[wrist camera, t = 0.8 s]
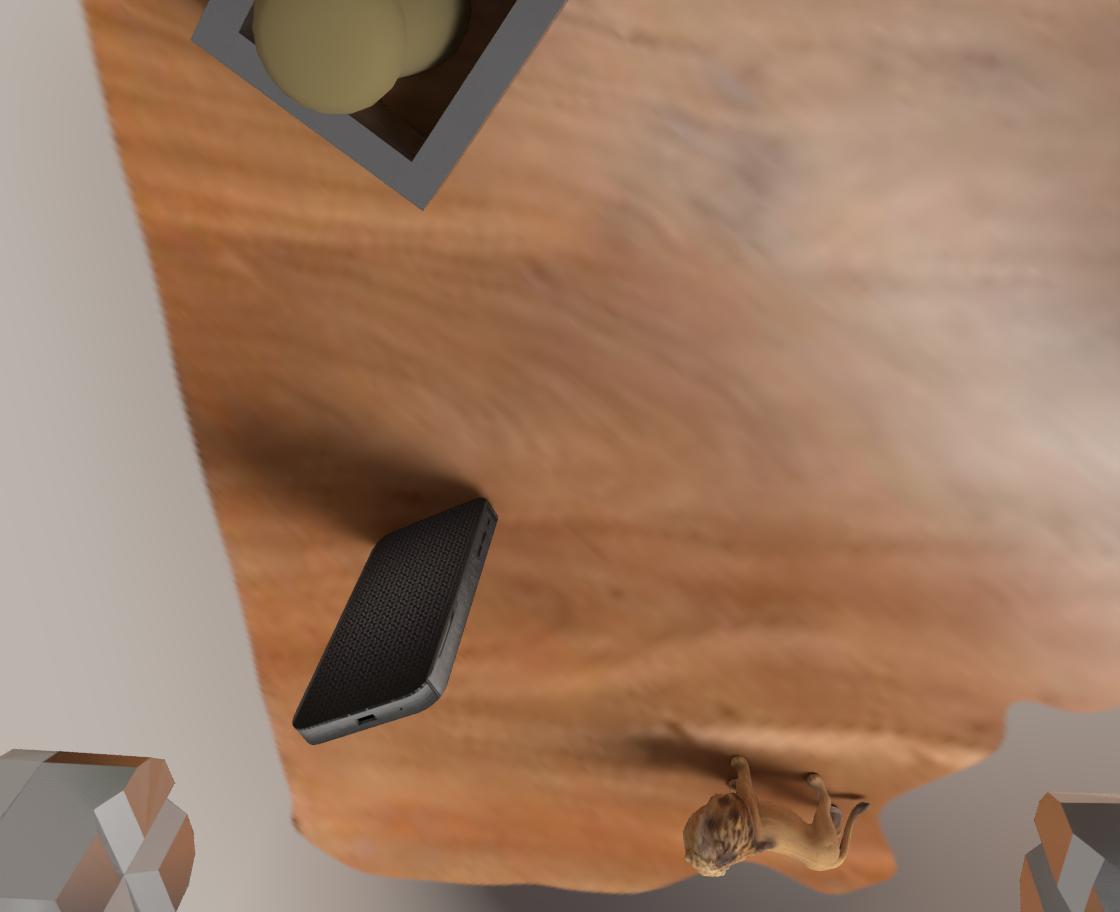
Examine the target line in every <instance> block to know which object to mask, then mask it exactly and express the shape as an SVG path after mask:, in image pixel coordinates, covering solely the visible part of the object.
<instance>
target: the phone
mask: <svg viewBox="0 0 1120 912" xmlns="http://www.w3.org/2000/svg"><path fill="white" fill-rule="evenodd" d="M497 520H498V516H497V514H496V513H495V511H494V510H493V508H492V507H491V505H490V504H489V502H488V501H487V499H485V498H478V499H475V500H472V501H470V502H467V503H465V504H462V505H460V506H457V507H454V508H452V509H449V510H447V511H444V512H442V513H439V514H437V515H434V516H432V517H429V518H427V519H424V520H422V521H419V522H417V523H414V524H412V525H409V526H407V527H404V528H402V529H399V530H397V531H394V532H392V533H390V534H388V535H387V536H385V537H384V538H382V539H381V540H380V541H379V542H378V543H377V544H376V545H375V546H374V548H373V549H372V551H371V554H370V556H369V558H368V560H367V562H366V564H365V566H364V568H363V571H362V573H361V575H360V577H359V579H358V581H357V583H356V585H355V587H354V590H353V592H352V594H351V596H350V598H349V600H348V602H347V604H346V607H345V609H344V611H343V613H342V615H341V617H340V619H339V621H338V623H337V626H336V628H335V630H334V632H333V634H332V636H331V638H330V640H329V643H328V645H327V647H326V649H325V651H324V653H323V655H322V657H321V660H320V662H319V664H318V666H317V668H316V670H315V672H314V674H313V676H312V679H311V681H310V683H309V685H308V687H307V689H306V691H305V693H304V696H303V698H302V700H301V702H300V704H299V706H298V708H297V710H296V713H295V715H294V717H293V721H292V723H293V726H294V727H295V729H296V730H297V731H298V732H299V733H300V734H301V735H302V737H303V738H304V739H305V740H306V741H307V742H308V743H309V744H311V745H317V744H321V743H324V742H327V741H330V740H334V739H337V738H340V737H343V736H346V735H349V734H353V733H356V732H359V731H362V730H365V729H368V728H371V727H375V726H378V725H381V724H384V723H387V722H390V721H394V720H397V719H400V718H403V717H406V716H409V715H413V714H416V713H419V712H421V711H423V710H426V709H427V708H429V707H430V706H431V705H433V704H434V703H435V702H436V701H437V700H438V699H439V698H440V697H441V695H442V694H443V693H444V691H445V688H446V686H447V683H448V680H449V677H450V673H451V670H452V667H453V663H454V660H455V657H456V654H457V650H458V647H459V644H460V641H461V637H462V634H463V631H464V628H465V624H466V621H467V618H468V615H469V611H470V608H471V605H472V602H473V598H474V595H475V592H476V589H477V585H478V582H479V579H480V575H481V572H482V569H483V566H484V562H485V559H486V556H487V553H488V549H489V546H490V543H491V540H492V536H493V533H494V530H495V527H496V523H497Z"/></svg>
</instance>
